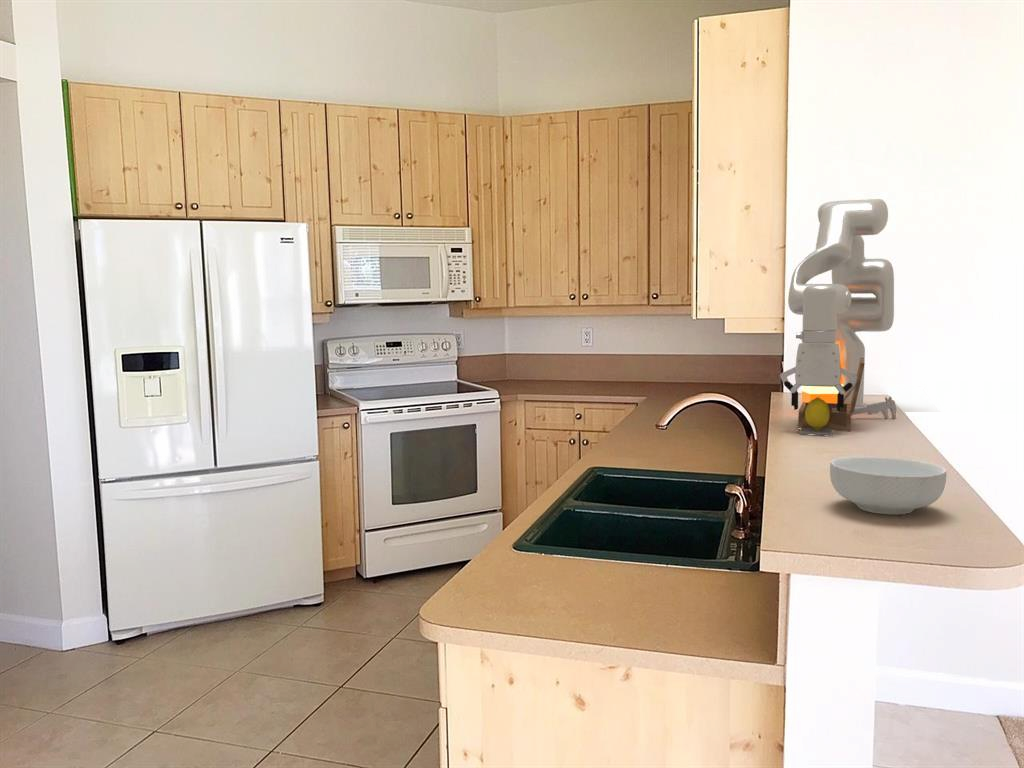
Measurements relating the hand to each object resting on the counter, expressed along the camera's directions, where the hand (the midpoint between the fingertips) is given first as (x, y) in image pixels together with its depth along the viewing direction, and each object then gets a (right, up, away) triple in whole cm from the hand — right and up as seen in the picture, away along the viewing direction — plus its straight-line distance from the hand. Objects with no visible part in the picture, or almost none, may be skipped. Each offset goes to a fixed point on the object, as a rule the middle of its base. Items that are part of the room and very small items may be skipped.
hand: (817, 409), depth 210 cm
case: (+8, -4, +12) cm, 15 cm away
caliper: (+18, -4, +22) cm, 29 cm away
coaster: (0, -6, 0) cm, 6 cm away
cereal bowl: (-14, -14, -72) cm, 75 cm away
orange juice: (+12, -2, +33) cm, 35 cm away
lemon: (0, -5, 0) cm, 5 cm away
